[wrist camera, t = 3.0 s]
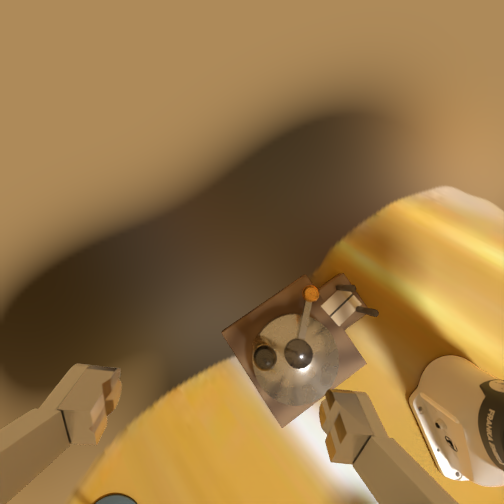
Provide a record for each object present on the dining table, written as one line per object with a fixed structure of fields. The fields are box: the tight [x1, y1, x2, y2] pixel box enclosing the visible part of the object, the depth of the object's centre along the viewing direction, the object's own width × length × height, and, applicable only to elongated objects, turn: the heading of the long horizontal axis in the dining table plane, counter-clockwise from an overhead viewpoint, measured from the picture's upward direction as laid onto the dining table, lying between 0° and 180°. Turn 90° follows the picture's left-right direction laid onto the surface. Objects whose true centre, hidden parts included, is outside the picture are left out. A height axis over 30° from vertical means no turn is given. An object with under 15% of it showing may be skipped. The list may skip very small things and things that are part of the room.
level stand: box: [222, 273, 379, 428], centre depth 43 cm, size 20×26×8 cm
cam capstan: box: [252, 285, 339, 406], centre depth 39 cm, size 17×22×11 cm
